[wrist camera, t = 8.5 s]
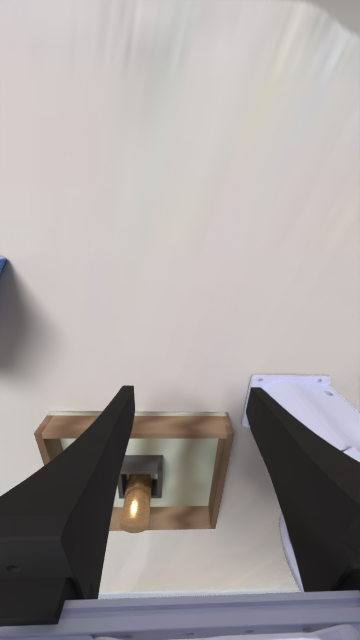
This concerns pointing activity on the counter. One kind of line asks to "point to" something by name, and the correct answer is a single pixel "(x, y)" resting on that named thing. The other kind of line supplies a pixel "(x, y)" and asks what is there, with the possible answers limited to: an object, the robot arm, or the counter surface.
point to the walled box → (160, 462)
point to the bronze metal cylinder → (137, 503)
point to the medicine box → (2, 262)
